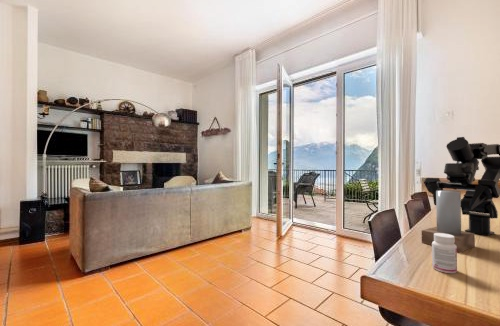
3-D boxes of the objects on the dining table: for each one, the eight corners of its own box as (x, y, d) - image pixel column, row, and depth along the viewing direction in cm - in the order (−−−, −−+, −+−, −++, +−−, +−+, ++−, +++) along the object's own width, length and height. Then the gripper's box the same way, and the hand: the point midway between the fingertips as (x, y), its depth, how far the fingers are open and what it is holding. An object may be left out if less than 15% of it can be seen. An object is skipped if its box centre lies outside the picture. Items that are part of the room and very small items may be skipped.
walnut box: (437, 237, 84) (437, 226, 84) (474, 246, 75) (474, 233, 75) (421, 242, 79) (421, 230, 79) (459, 252, 70) (459, 238, 70)
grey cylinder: (442, 228, 80) (441, 189, 80) (464, 233, 75) (464, 191, 75) (432, 231, 77) (432, 191, 77) (455, 236, 72) (455, 192, 72)
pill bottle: (462, 274, 56) (461, 238, 56) (438, 273, 57) (438, 237, 57) (449, 266, 61) (449, 232, 61) (428, 264, 62) (427, 231, 62)
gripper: (425, 155, 88) (410, 187, 83) (496, 153, 73) (484, 193, 67) (435, 176, 93) (422, 208, 87) (505, 178, 77) (494, 217, 71)
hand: (451, 206), depth 78 cm, fingers open, 9 cm apart
